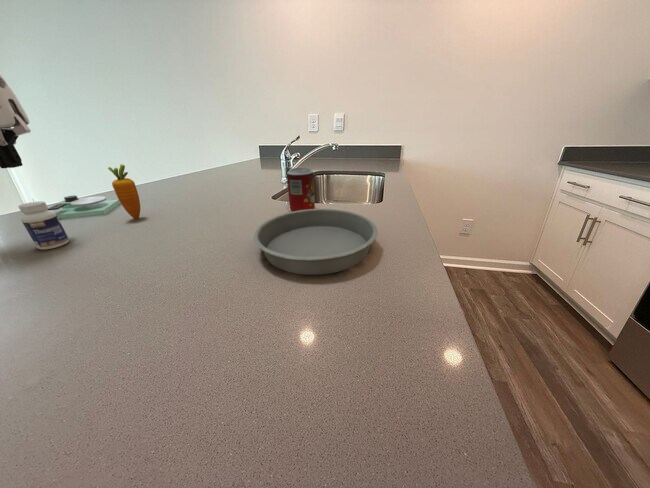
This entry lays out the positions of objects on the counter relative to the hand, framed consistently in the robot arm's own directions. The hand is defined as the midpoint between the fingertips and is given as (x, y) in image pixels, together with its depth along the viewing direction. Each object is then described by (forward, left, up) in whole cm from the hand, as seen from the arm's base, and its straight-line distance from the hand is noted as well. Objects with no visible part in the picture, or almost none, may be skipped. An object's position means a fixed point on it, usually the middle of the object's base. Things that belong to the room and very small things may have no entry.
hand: (12, 166), depth 51 cm
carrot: (+13, +12, -18) cm, 25 cm away
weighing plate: (-3, +26, -14) cm, 30 cm away
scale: (-5, +27, -17) cm, 32 cm away
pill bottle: (0, 0, -18) cm, 18 cm away
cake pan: (+56, -22, -18) cm, 63 cm away
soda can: (+58, 0, -18) cm, 61 cm away
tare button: (-10, +30, -15) cm, 35 cm away
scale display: (-10, +23, -14) cm, 28 cm away
